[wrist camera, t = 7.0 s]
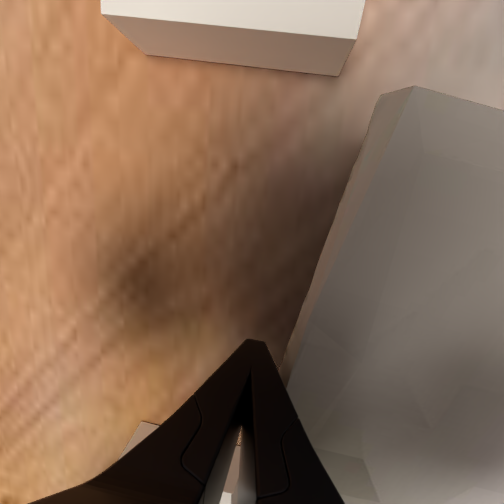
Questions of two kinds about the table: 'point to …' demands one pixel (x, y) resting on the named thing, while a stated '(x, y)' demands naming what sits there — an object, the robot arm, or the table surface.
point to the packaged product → (410, 312)
